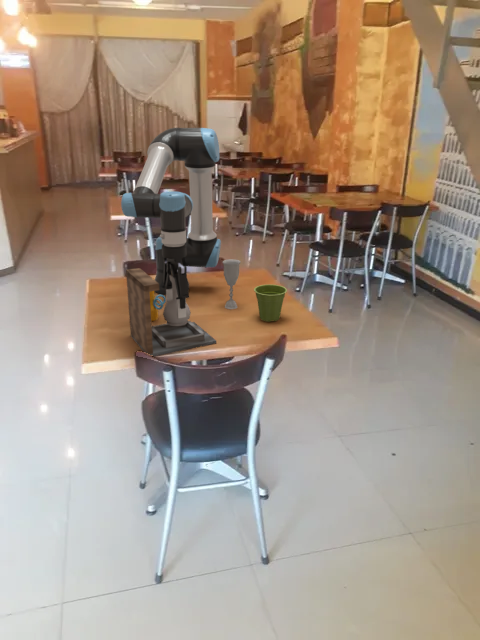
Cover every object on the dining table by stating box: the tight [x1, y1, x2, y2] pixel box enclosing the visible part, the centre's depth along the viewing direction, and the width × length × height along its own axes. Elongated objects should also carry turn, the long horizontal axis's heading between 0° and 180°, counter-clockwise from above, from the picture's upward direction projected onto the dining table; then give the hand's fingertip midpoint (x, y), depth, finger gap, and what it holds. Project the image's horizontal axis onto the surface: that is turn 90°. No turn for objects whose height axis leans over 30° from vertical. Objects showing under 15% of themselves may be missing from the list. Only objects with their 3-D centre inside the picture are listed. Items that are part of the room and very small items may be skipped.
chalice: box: [222, 259, 241, 310], centre depth 192 cm, size 7×7×18 cm
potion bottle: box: [162, 272, 191, 326], centre depth 161 cm, size 9×9×18 cm
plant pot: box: [253, 284, 288, 322], centre depth 182 cm, size 12×12×11 cm
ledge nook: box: [125, 267, 217, 357], centre depth 161 cm, size 18×23×23 cm
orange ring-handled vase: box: [150, 277, 167, 322], centre depth 179 cm, size 12×10×15 cm
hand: (176, 312), depth 163 cm, fingers closed on potion bottle, 9 cm apart
